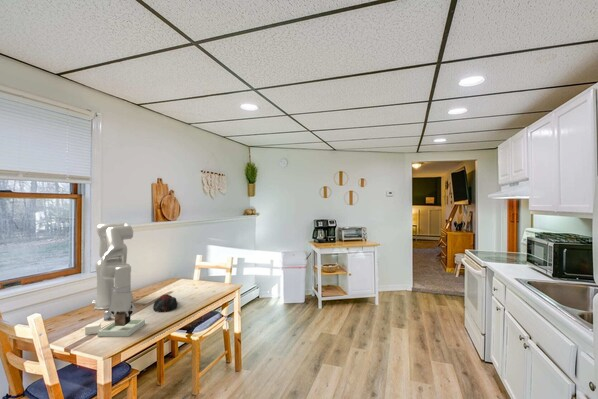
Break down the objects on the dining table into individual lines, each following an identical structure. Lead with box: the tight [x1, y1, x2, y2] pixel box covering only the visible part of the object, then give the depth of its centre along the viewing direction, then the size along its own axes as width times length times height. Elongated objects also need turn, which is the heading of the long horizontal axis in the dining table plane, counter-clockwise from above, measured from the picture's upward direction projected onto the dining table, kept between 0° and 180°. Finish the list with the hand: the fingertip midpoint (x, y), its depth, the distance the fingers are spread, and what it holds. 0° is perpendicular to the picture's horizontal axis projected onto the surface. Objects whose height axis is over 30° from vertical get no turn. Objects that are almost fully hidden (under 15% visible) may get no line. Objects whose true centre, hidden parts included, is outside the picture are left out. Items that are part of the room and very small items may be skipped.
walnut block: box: [114, 312, 126, 326], centre depth 160 cm, size 5×5×6 cm
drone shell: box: [152, 294, 178, 313], centre depth 198 cm, size 21×20×8 cm
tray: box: [97, 318, 146, 337], centre depth 160 cm, size 16×16×3 cm
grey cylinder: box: [103, 309, 113, 321], centre depth 176 cm, size 4×4×5 cm
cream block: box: [84, 322, 102, 336], centre depth 157 cm, size 6×4×4 cm, turn 109°
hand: (122, 322), depth 160 cm, fingers closed on walnut block, 5 cm apart
